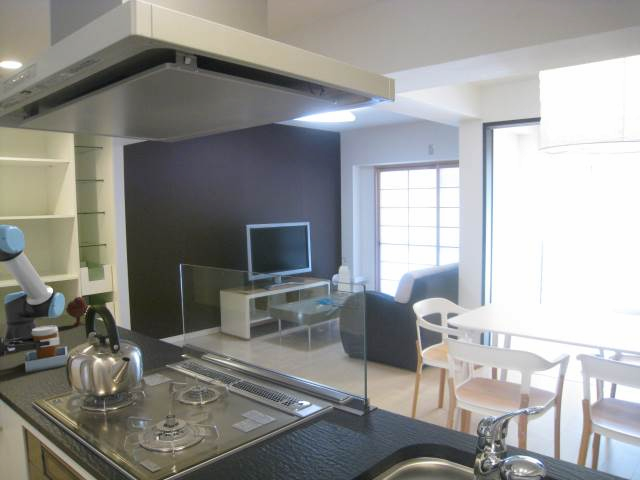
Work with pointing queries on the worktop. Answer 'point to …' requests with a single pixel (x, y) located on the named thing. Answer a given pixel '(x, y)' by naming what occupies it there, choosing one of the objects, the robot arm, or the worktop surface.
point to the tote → (45, 360)
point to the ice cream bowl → (77, 309)
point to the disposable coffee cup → (45, 333)
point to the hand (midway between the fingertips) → (59, 338)
